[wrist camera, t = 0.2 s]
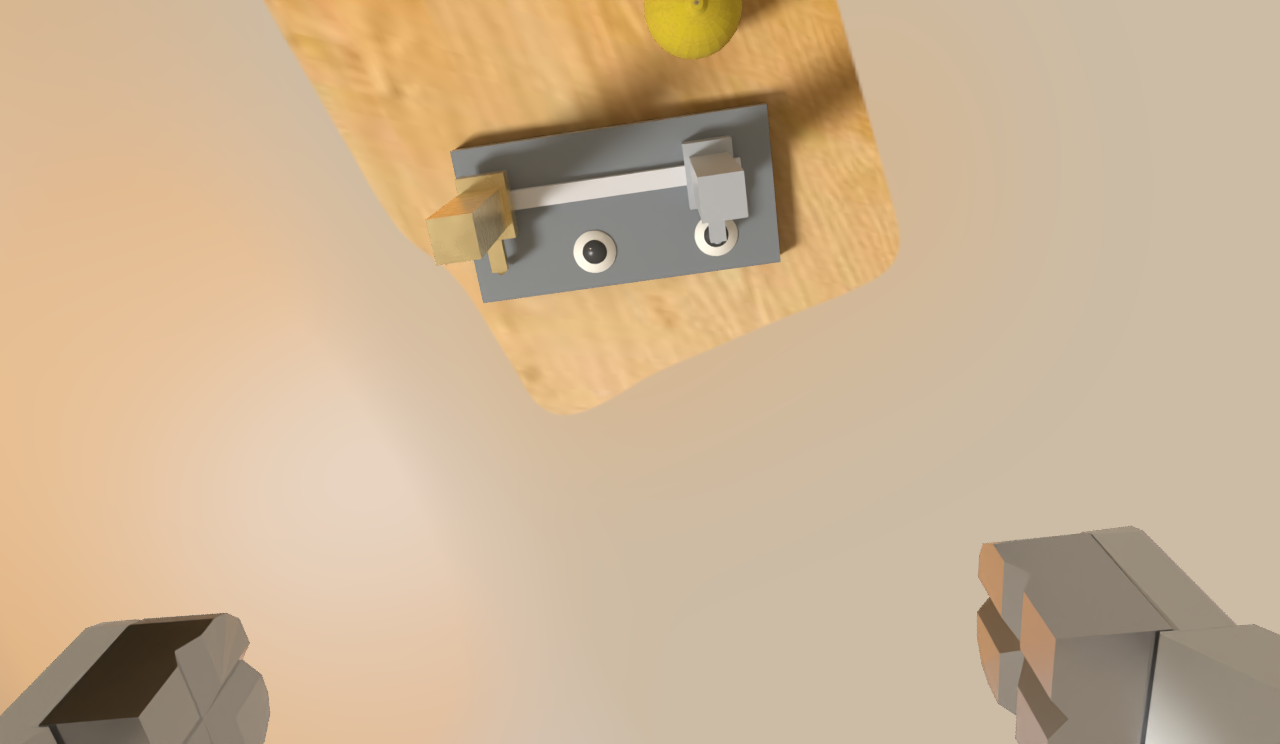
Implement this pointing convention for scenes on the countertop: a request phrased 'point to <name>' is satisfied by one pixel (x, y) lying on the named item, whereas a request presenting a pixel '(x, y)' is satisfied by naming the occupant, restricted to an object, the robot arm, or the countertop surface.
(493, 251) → the brass leg
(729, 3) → the lemon
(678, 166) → the board
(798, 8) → the countertop surface
